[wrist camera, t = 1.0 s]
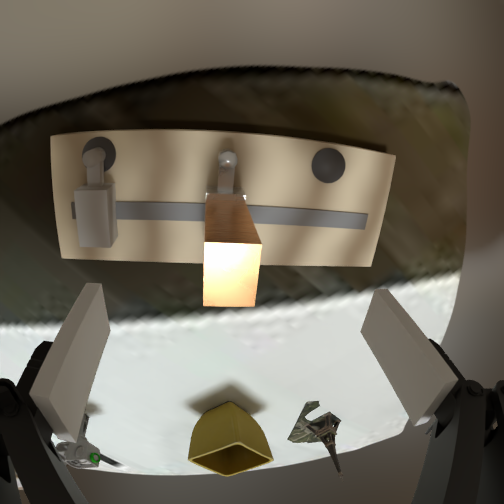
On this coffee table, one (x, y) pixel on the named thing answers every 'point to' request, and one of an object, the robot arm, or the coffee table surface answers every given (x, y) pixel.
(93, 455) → the mechanical component
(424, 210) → the coffee table surface
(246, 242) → the slide leg
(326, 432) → the eiffel tower figurine
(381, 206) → the gauge board
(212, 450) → the flower pot
